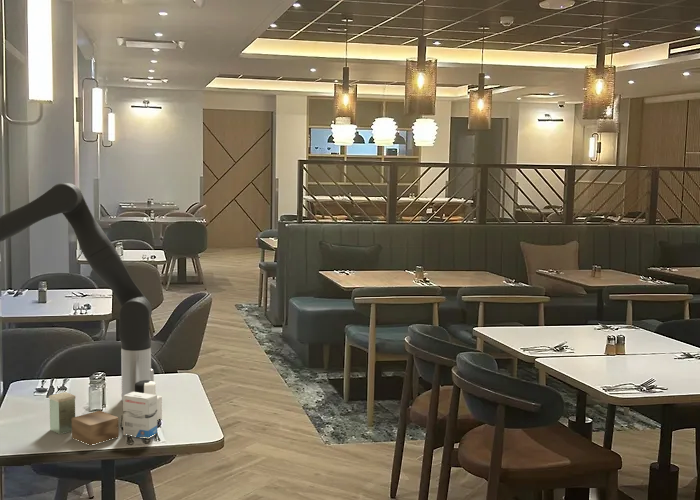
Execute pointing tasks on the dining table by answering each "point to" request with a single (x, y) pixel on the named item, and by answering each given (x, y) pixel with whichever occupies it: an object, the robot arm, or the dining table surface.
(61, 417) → the tea tin
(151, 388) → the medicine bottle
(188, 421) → the dining table surface
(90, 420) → the walnut block
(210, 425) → the dining table surface
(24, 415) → the dining table surface
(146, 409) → the ink box
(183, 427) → the dining table surface
